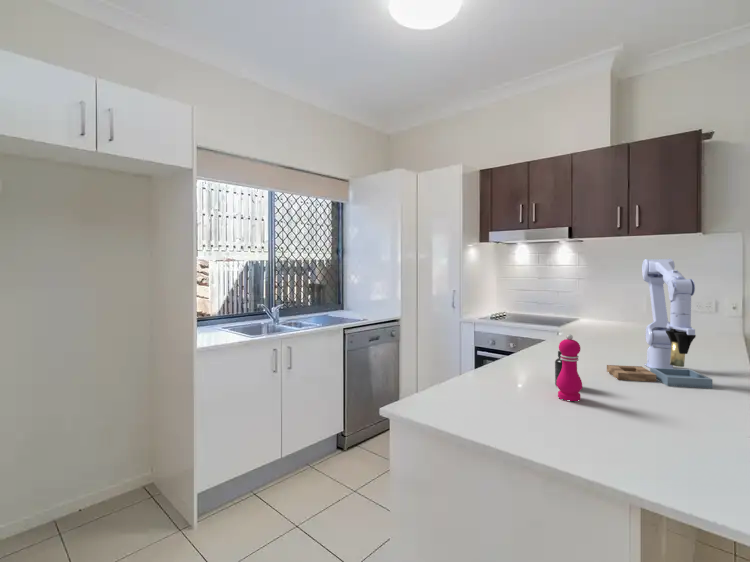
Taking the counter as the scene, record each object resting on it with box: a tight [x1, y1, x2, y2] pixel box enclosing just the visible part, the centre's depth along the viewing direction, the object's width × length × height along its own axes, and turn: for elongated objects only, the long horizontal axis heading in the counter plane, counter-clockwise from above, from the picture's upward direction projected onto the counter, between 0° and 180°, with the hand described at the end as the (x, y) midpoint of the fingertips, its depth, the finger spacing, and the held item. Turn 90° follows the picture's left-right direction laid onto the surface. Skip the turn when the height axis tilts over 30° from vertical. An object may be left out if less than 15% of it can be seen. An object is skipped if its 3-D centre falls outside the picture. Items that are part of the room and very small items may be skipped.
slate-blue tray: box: [649, 368, 713, 389], centre depth 139 cm, size 13×13×3 cm
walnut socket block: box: [606, 364, 657, 383], centre depth 146 cm, size 12×12×2 cm
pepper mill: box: [555, 333, 583, 402], centre depth 122 cm, size 7×7×20 cm
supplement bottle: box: [554, 350, 562, 387], centre depth 134 cm, size 7×7×12 cm
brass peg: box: [670, 342, 686, 368], centre depth 139 cm, size 4×4×8 cm
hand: (679, 352), depth 138 cm, fingers closed on brass peg, 4 cm apart
